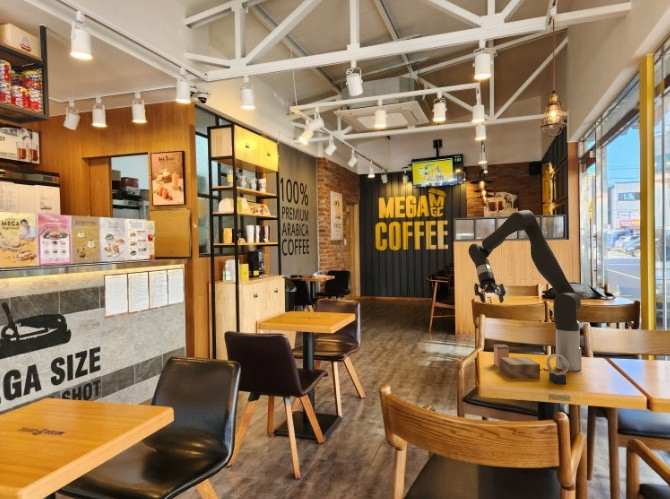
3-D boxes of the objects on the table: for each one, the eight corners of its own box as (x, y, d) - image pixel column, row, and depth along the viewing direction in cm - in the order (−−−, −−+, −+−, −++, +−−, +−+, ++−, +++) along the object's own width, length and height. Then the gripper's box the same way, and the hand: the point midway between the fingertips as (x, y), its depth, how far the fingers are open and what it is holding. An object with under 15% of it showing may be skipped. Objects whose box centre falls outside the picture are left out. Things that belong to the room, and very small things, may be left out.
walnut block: (527, 371, 197) (527, 357, 197) (540, 379, 185) (539, 364, 185) (500, 371, 197) (500, 357, 197) (510, 379, 185) (510, 364, 185)
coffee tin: (505, 364, 208) (505, 344, 208) (509, 367, 203) (509, 347, 203) (493, 364, 208) (493, 344, 208) (497, 367, 203) (497, 347, 203)
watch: (571, 384, 177) (571, 356, 177) (550, 384, 177) (549, 355, 177) (565, 380, 182) (565, 352, 182) (544, 379, 183) (544, 352, 183)
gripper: (473, 270, 224) (479, 297, 213) (501, 271, 224) (510, 297, 213) (469, 280, 230) (475, 306, 219) (497, 280, 230) (505, 306, 219)
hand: (492, 302), depth 216 cm, fingers open, 8 cm apart
